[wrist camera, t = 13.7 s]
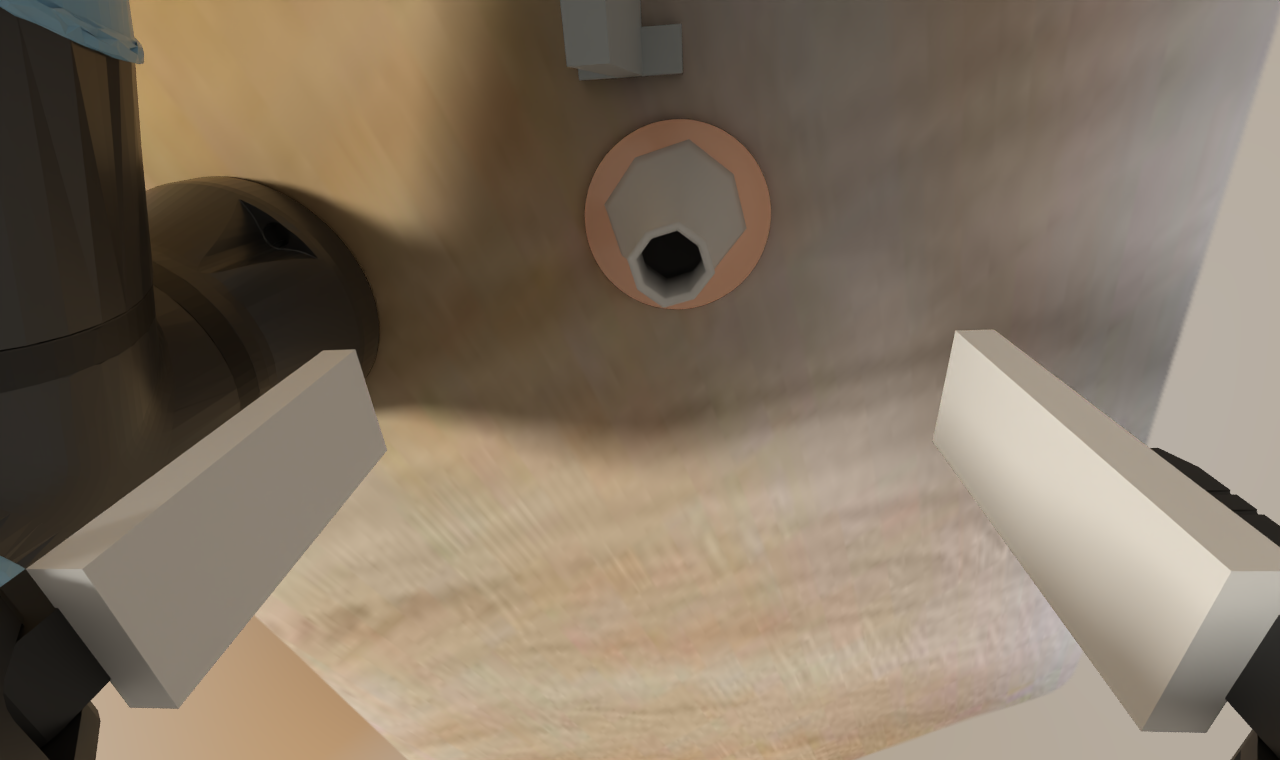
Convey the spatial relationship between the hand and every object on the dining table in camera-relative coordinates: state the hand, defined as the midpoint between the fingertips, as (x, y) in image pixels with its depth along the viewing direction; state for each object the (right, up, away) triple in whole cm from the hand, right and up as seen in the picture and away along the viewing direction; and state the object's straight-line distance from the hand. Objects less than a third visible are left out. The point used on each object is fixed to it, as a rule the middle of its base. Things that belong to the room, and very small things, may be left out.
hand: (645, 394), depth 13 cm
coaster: (+2, +9, +18) cm, 21 cm away
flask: (+2, +9, +18) cm, 20 cm away
